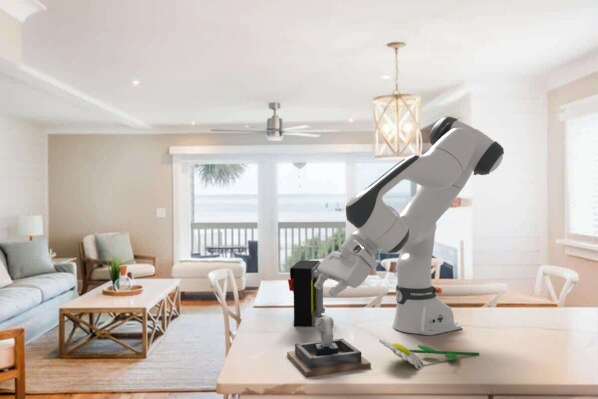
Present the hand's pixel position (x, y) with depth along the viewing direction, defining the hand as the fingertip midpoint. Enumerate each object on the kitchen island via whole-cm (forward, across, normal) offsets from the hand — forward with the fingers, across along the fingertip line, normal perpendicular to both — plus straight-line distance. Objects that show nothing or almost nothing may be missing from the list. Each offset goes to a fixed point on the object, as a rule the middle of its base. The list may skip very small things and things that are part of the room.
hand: (323, 291), depth 132 cm
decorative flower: (-5, +11, +33) cm, 35 cm away
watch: (+12, 0, +13) cm, 18 cm away
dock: (+13, 0, +14) cm, 19 cm away
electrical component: (+5, -40, +23) cm, 46 cm away
